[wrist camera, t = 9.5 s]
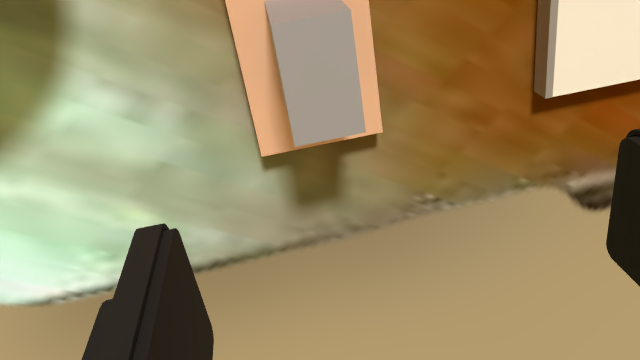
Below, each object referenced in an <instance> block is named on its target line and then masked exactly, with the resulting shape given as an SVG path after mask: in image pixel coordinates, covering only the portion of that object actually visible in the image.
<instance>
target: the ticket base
mask: <svg viewBox="0 0 640 360" xmlns="http://www.w3.org/2000/svg"><path fill="white" fill-rule="evenodd" d="M639 79H640V0H538V9H537V31H536V54H535V76H534V92H536V93H537V94H539V95H540V96H542V97H543V98H545V99H547V98H552V97H555V96H560V95H565V94H570V93H575V92H580V91H585V90H590V89H595V88H600V87H604V86H609V85H614V84H619V83H624V82H629V81H634V80H639Z"/></svg>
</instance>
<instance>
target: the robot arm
mask: <svg viewBox="0 0 640 360" xmlns="http://www.w3.org/2000/svg"><path fill="white" fill-rule="evenodd" d="M606 242H607V243H606V245H607V250H608V253H609V255H610V257H611V258H612V259H613V260H614V261H615V262H616V263H617V264H618V265H619V266H620V267H621V268H622V269H623V270H624V271H625V272H626V273H627V274H628V275H629V276H630V277H631V278H632V279H633V280H634V281H635V282H636V283H637V284H638V285H639V286H640V129H635V130H632V131H630V132H629V133H628V135H627V136H626V138H625V139H623V140H622V141H621V143H620V146H619V153H618V160H617V168H616V175H615V182H614V190H613V197H612V204H611V212H610V219H609V227H608V234H607V241H606ZM213 343H214V339H213V330H212V326H211V322H210V320H209V317H208V314H207V311H206V308H205V305H204V302H203V299H202V297H201V294H200V291H199V288H198V285H197V283H196V280H195V276H194V274H193V271H192V268H191V265H190V262H189V259H188V256H187V254H186V251H185V248H184V245H183V242H182V239H181V236H180V234H179V231H178V230H177V229H176V228H175V229H170V230H169V228H168V227H167V225H166V224H159V225H154V226H149V227H144V228H139V229H136V231H135V233H134V236H133V239H132V242H131V245H130V248H129V251H128V254H127V257H126V260H125V263H124V266H123V270H122V273H121V276H120V279H119V282H118V285H117V288H116V291H115V294H114V297H113V299H110V300H106V301H105V302H103V303H102V305H101V307H100V309H99V312H98V315H97V318H96V320H95V323H94V326H93V329H92V332H91V335H90V337H89V341H88V343H87V346H86V349H85V352H84V355H83V357H82V360H212V358H213Z"/></svg>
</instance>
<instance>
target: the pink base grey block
mask: <svg viewBox="0 0 640 360" xmlns="http://www.w3.org/2000/svg"><path fill="white" fill-rule="evenodd" d="M225 2H226V7H227V11H228V15H229V19H230V24H231V28H232V32H233V36H234V41H235V45H236V49H237V53H238V58H239V62H240V66H241V70H242V75H243V79H244V83H245V88H246V92H247V96H248V100H249V105H250V109H251V113H252V117H253V122H254V126H255V130H256V134H257V139H258V143H259V147H260V151H261V156H262V157H263V156H268V155H273V154H278V153H283V152H287V151H292V150H297V149H302V148H307V147H312V146H317V145H322V144H327V143H332V142H337V141H342V140H347V139H352V138H357V137H362V136H366V135H371V134H376V133H381V132H383V131H382V122H381V113H380V103H379V94H378V85H377V75H376V66H375V56H374V47H373V38H372V28H371V19H370V10H369V0H225Z"/></svg>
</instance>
